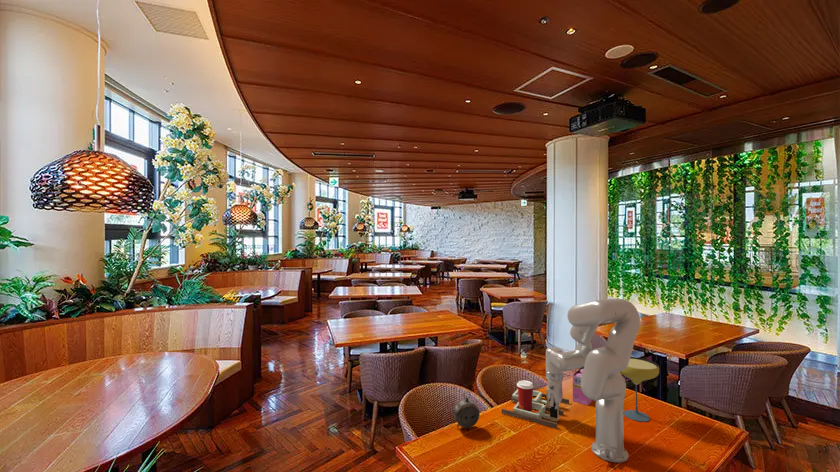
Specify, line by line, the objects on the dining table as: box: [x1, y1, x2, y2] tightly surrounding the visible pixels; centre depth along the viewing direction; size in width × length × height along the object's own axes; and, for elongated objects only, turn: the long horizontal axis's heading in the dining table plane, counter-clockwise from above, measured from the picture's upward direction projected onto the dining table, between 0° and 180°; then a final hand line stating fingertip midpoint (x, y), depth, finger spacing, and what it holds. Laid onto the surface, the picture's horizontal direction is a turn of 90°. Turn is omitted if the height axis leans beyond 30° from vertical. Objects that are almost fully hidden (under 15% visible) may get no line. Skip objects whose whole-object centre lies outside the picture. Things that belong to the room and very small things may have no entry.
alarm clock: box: [453, 391, 480, 430], centre depth 154 cm, size 11×5×16 cm, turn 102°
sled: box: [512, 401, 560, 423], centre depth 166 cm, size 12×19×8 cm, turn 57°
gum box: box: [572, 366, 593, 406], centre depth 188 cm, size 24×8×14 cm, turn 140°
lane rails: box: [501, 392, 570, 429], centre depth 173 cm, size 29×25×2 cm
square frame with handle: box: [511, 387, 550, 407], centre depth 181 cm, size 12×19×8 cm, turn 57°
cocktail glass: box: [619, 356, 660, 423], centre depth 166 cm, size 18×18×25 cm
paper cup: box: [516, 379, 535, 412], centre depth 169 cm, size 8×8×14 cm
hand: (554, 415), depth 162 cm, fingers closed on sled, 3 cm apart
